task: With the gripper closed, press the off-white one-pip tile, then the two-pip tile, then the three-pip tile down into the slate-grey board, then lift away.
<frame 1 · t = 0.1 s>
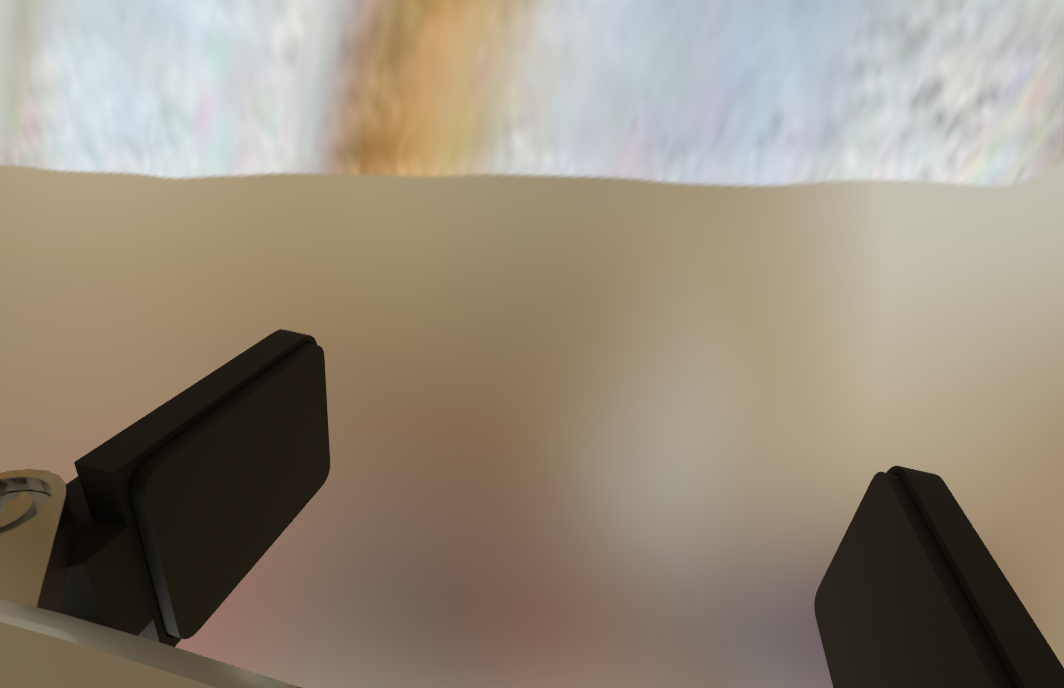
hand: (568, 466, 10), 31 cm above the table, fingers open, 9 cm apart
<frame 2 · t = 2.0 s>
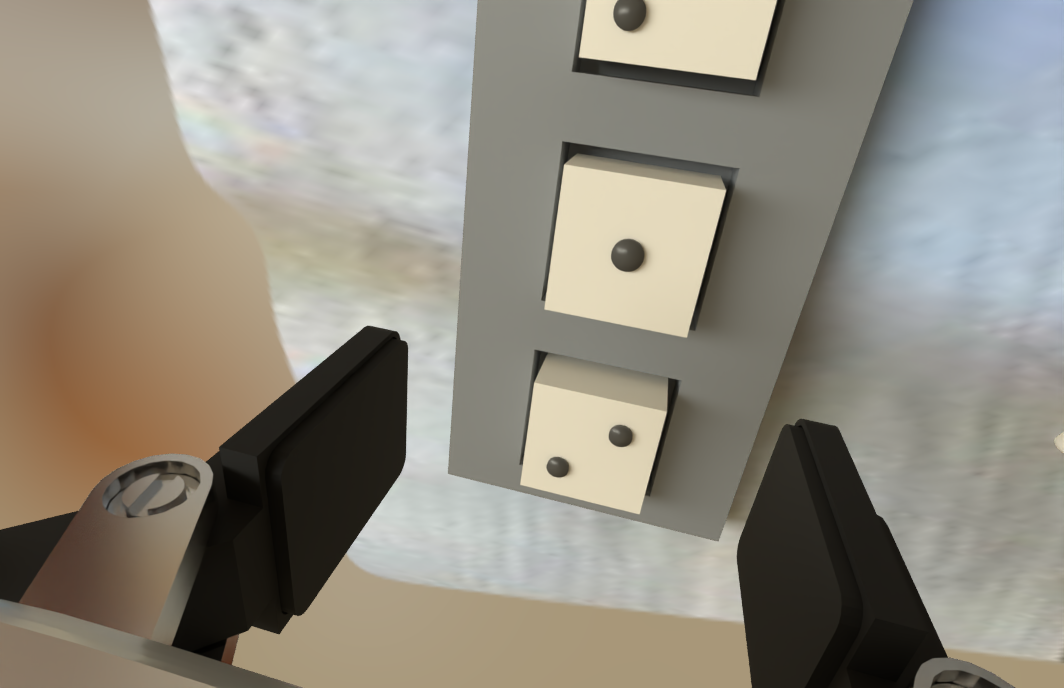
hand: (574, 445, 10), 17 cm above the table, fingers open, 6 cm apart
tile one: (630, 244, 22), point 3 cm above the table, slide at 0.0 cm
tile board: (635, 225, 25), on the table
tile two: (592, 432, 26), point 3 cm above the table, slide at 0.0 cm
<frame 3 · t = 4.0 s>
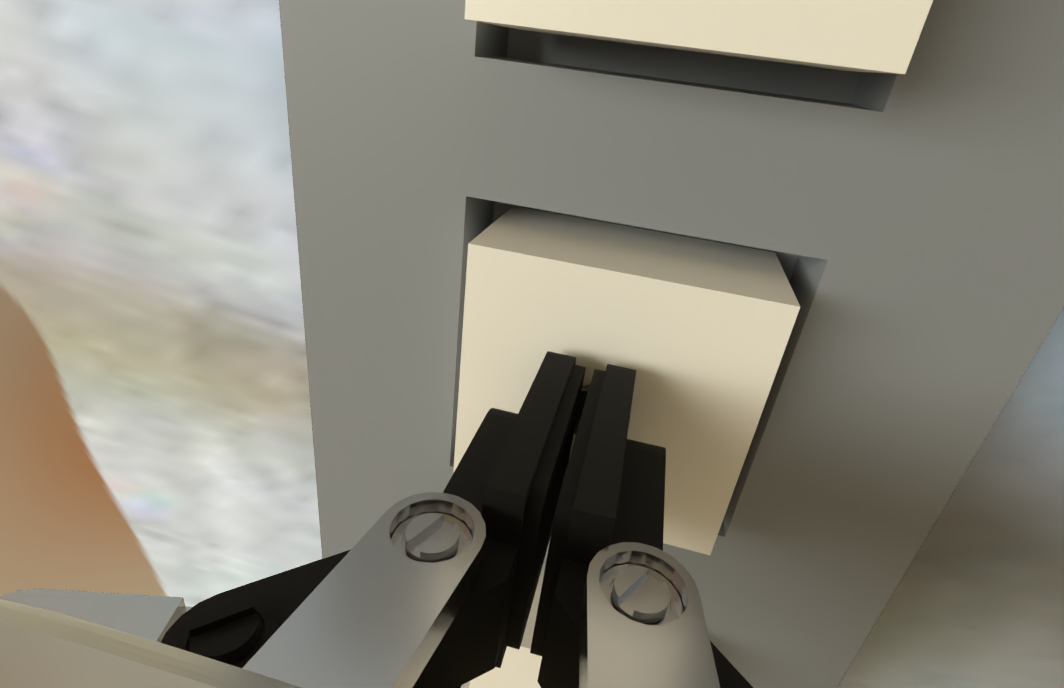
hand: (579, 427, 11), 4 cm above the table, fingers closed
tile one: (607, 376, 12), point 2 cm above the table, slide at 0.8 cm
tile board: (618, 331, 14), on the table
tile two: (546, 672, 16), point 3 cm above the table, slide at 0.0 cm
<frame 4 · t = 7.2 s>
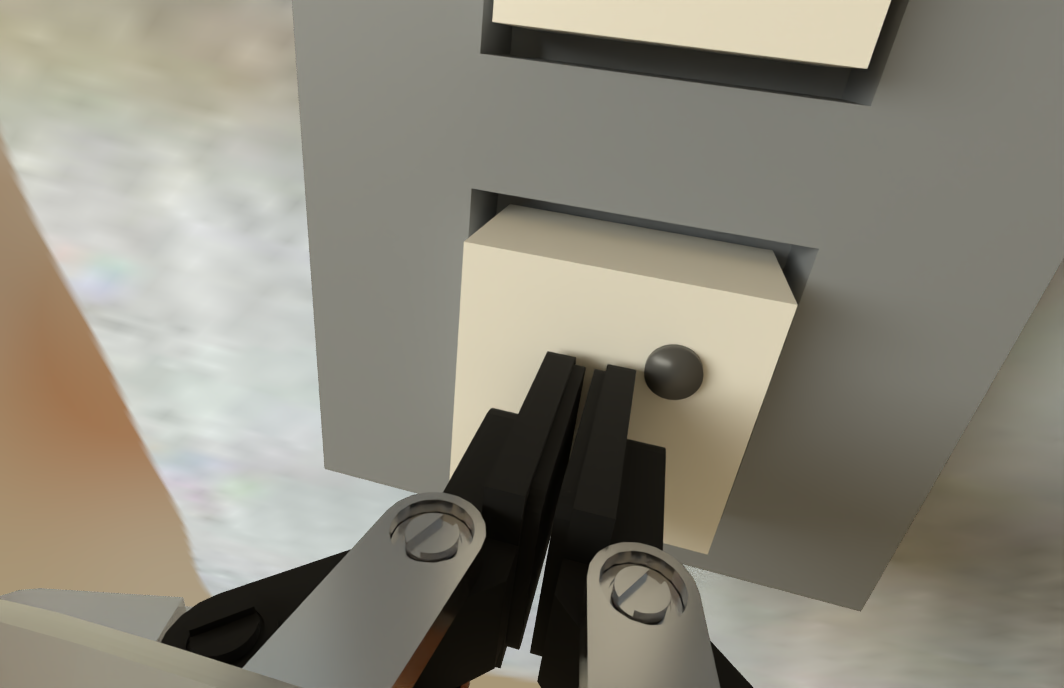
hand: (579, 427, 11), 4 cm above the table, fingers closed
tile two: (604, 375, 12), point 3 cm above the table, slide at 0.2 cm, touching gripper
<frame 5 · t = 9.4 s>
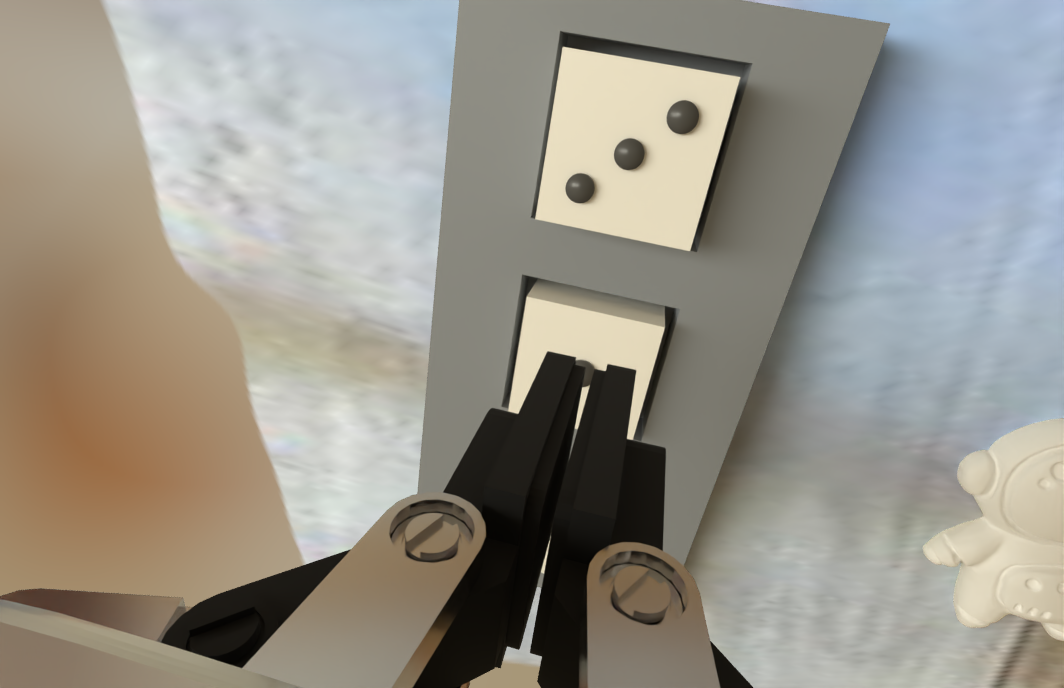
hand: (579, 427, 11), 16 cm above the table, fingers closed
astronaut figurine: (1028, 523, 27), on the table
tile one: (585, 357, 25), point 2 cm above the table, slide at 1.0 cm
tile board: (590, 338, 27), on the table
tile three: (631, 149, 20), point 3 cm above the table, slide at 0.0 cm
tile two: (550, 511, 29), point 2 cm above the table, slide at 1.0 cm
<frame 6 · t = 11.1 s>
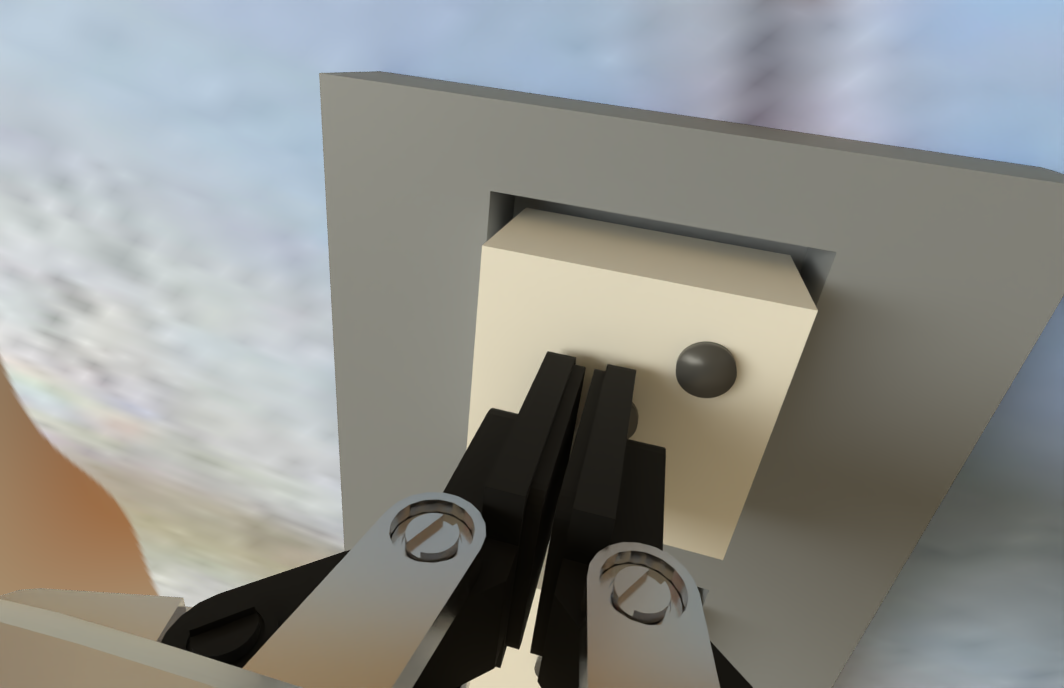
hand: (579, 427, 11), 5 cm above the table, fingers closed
tile one: (567, 623, 17), point 2 cm above the table, slide at 1.0 cm
tile board: (579, 568, 19), on the table
tile three: (620, 379, 12), point 3 cm above the table, slide at 0.1 cm, touching gripper
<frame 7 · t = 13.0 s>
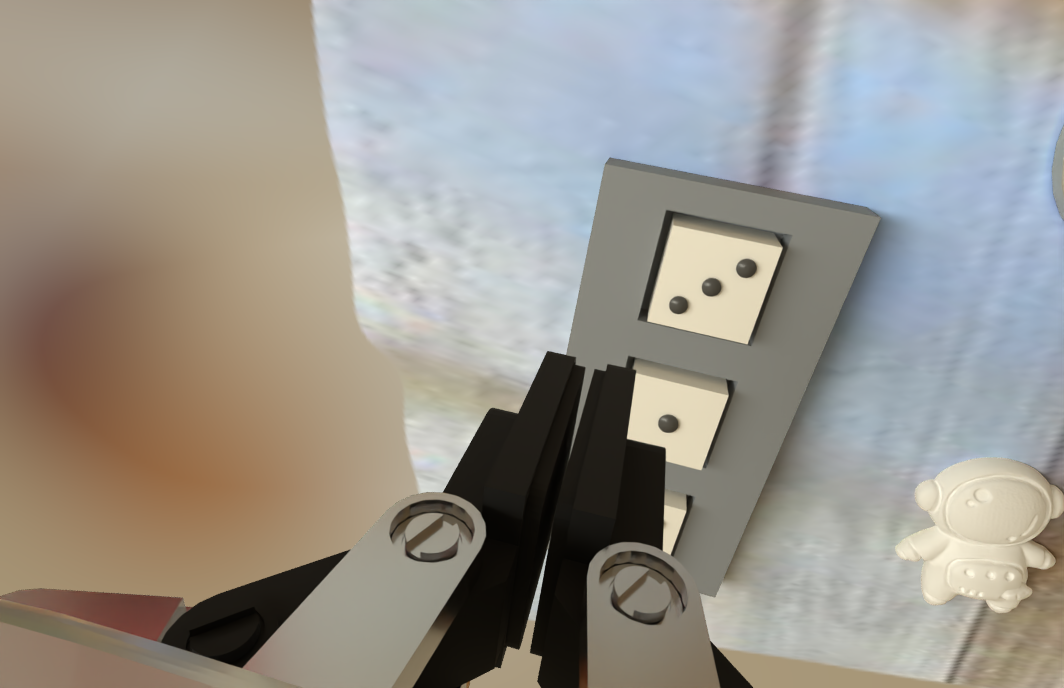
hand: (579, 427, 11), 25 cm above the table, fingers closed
astronaut figurine: (970, 529, 38), on the table
tile one: (668, 410, 36), point 2 cm above the table, slide at 1.0 cm
tile board: (668, 394, 38), on the table
tile three: (710, 278, 32), point 2 cm above the table, slide at 1.0 cm
tile two: (635, 516, 40), point 2 cm above the table, slide at 1.0 cm
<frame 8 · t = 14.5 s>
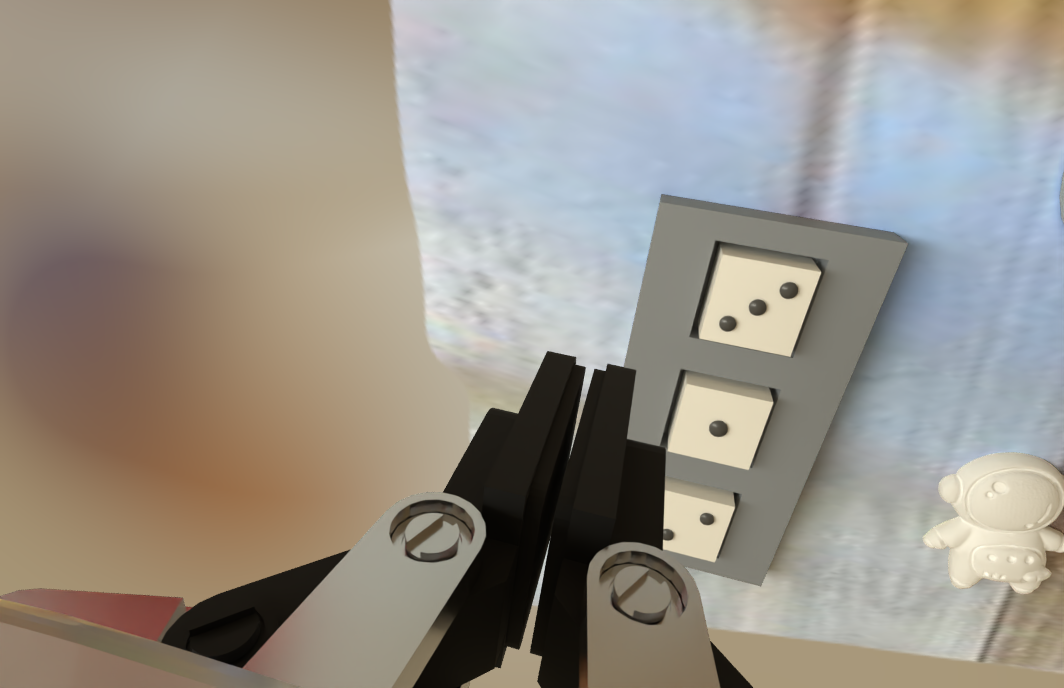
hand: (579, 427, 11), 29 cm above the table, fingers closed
astronaut figurine: (991, 518, 42), on the table
tile one: (717, 416, 40), point 2 cm above the table, slide at 1.0 cm
tile board: (715, 401, 42), on the table
tile three: (754, 298, 36), point 2 cm above the table, slide at 1.0 cm
tile two: (686, 513, 44), point 2 cm above the table, slide at 1.0 cm
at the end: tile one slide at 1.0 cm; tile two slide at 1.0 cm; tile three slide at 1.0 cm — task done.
